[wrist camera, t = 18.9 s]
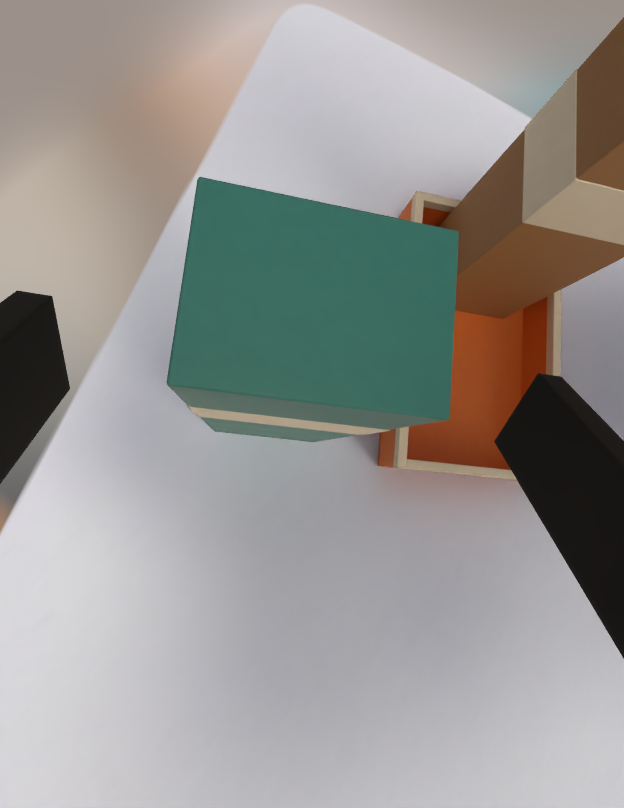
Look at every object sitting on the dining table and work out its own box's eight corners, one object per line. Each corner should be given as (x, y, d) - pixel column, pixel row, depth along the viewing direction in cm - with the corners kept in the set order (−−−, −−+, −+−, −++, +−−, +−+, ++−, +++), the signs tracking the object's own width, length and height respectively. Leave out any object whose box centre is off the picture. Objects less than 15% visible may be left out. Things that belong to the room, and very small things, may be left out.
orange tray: (527, 248, 29) (562, 223, 26) (521, 481, 27) (559, 484, 24) (395, 220, 27) (416, 190, 24) (377, 466, 25) (397, 467, 22)
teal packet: (321, 369, 25) (461, 229, 9) (314, 442, 24) (452, 421, 9) (223, 355, 24) (196, 173, 8) (213, 431, 23) (163, 386, 8)
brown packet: (505, 257, 28) (842, 9, 12) (503, 319, 27) (856, 141, 12) (424, 240, 27) (680, -51, 11) (420, 305, 26) (685, 89, 11)
